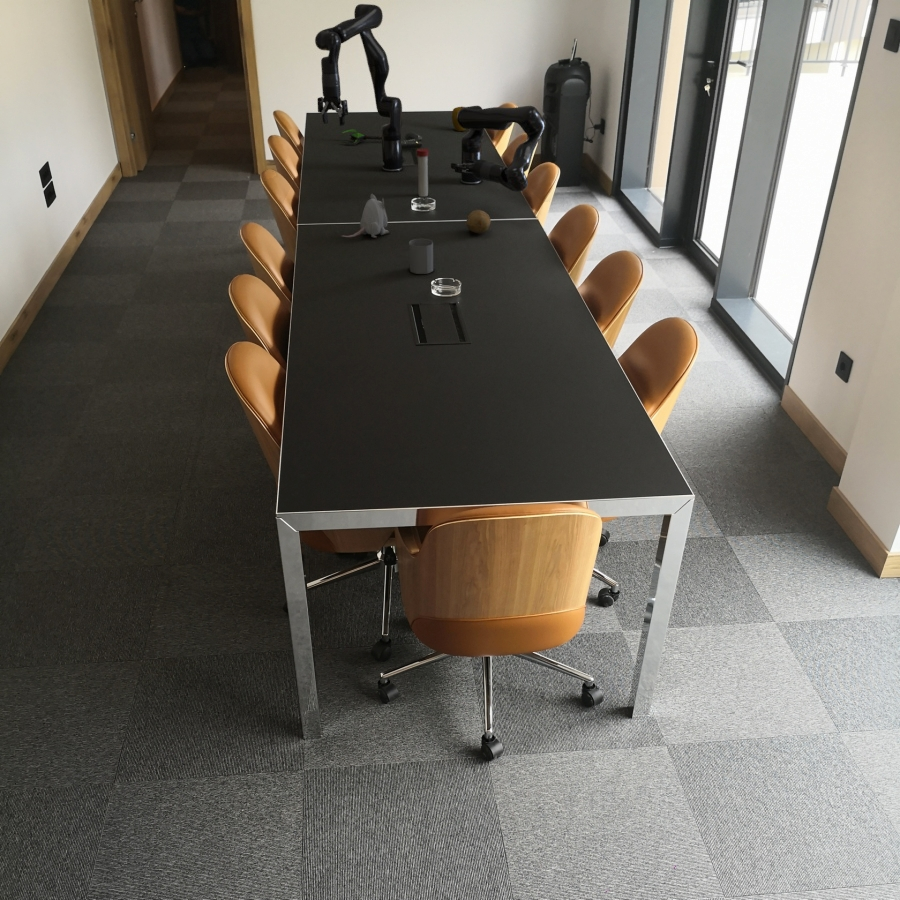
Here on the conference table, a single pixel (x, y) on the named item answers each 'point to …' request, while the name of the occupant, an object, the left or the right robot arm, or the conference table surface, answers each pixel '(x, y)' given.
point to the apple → (454, 119)
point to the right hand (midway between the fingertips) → (458, 163)
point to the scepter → (359, 137)
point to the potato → (478, 221)
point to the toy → (373, 218)
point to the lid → (422, 152)
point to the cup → (421, 256)
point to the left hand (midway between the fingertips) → (333, 124)
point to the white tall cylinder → (423, 176)
